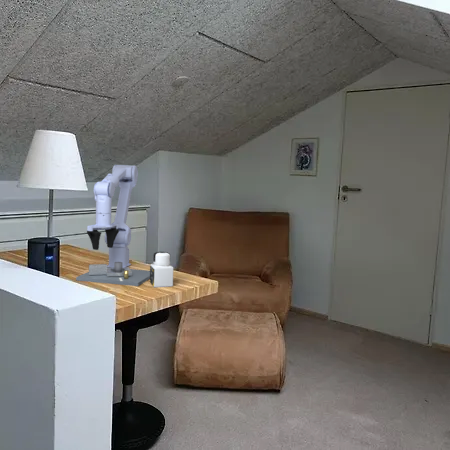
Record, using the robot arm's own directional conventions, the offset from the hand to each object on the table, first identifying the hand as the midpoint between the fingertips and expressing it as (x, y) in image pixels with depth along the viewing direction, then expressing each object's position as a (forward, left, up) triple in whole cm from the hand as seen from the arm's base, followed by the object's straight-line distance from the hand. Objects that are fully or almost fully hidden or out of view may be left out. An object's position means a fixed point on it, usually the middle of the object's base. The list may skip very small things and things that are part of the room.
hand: (102, 248), depth 173 cm
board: (0, +7, -11) cm, 12 cm away
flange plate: (+2, +4, -9) cm, 10 cm away
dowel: (+6, +12, -9) cm, 16 cm away
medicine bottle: (+5, +25, -11) cm, 28 cm away
